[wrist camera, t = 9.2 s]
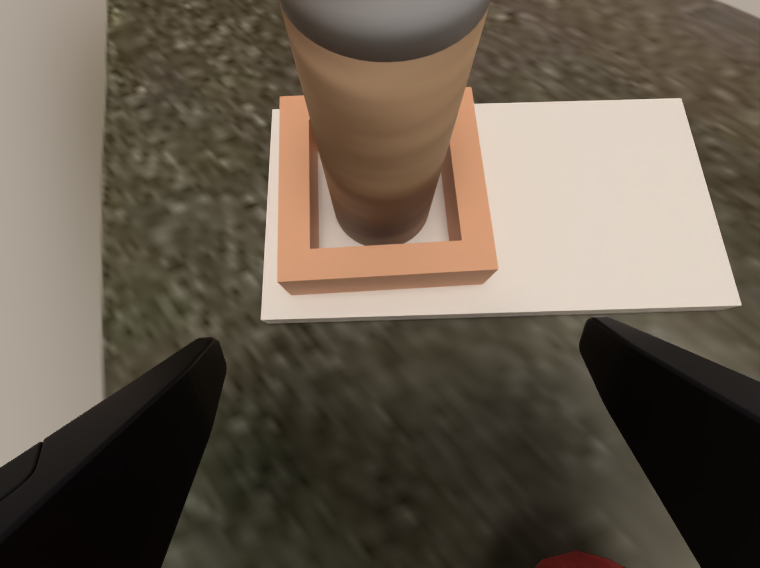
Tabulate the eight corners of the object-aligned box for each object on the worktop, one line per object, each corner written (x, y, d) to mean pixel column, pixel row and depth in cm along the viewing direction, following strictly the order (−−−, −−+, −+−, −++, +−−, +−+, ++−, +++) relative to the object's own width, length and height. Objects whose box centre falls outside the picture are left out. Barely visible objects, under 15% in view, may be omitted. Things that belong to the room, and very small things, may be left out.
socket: (482, 284, 18) (498, 269, 15) (291, 295, 18) (277, 281, 15) (460, 121, 20) (471, 86, 18) (291, 130, 20) (279, 96, 18)
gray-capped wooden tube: (448, 194, 19) (553, -96, 8) (392, 267, 18) (416, 59, 6) (371, 145, 20) (361, -187, 8) (314, 213, 19) (210, -60, 7)
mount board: (665, 113, 22) (681, 98, 21) (719, 310, 19) (741, 305, 18) (278, 123, 22) (272, 109, 20) (268, 323, 19) (260, 319, 17)
